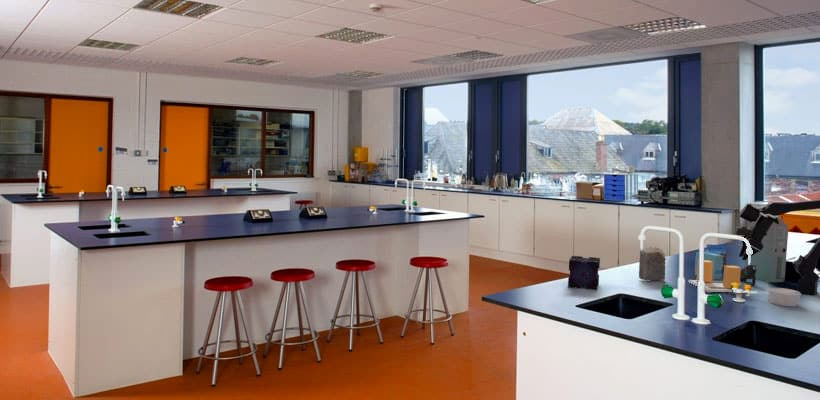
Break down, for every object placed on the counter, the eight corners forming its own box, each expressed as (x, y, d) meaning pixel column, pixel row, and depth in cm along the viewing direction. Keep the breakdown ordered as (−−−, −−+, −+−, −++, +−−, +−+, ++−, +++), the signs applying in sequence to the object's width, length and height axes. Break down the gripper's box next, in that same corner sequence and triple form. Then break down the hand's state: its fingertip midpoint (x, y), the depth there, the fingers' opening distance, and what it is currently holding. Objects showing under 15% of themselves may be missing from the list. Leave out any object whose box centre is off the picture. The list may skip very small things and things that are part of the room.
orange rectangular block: (734, 286, 269) (735, 265, 268) (739, 288, 265) (740, 267, 264) (722, 286, 269) (724, 265, 268) (727, 288, 265) (729, 267, 264)
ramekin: (796, 309, 239) (797, 295, 238) (764, 303, 246) (765, 290, 246) (802, 304, 247) (803, 291, 247) (770, 299, 255) (771, 286, 254)
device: (784, 282, 289) (789, 218, 286) (771, 282, 287) (776, 218, 284) (756, 274, 305) (760, 214, 302) (743, 275, 303) (747, 214, 300)
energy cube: (567, 287, 267) (569, 259, 266) (570, 282, 278) (572, 255, 277) (596, 290, 263) (598, 262, 262) (598, 284, 274) (600, 257, 273)
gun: (744, 292, 290) (741, 271, 294) (760, 283, 275) (756, 261, 279) (738, 292, 290) (735, 271, 294) (753, 283, 276) (750, 261, 279)
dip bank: (725, 283, 282) (725, 280, 282) (748, 293, 263) (748, 290, 263) (688, 282, 282) (688, 279, 282) (708, 292, 263) (708, 289, 263)
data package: (721, 280, 289) (723, 255, 288) (714, 281, 287) (715, 255, 286) (701, 275, 300) (702, 251, 299) (694, 275, 298) (695, 251, 297)
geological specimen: (646, 282, 281) (647, 249, 280) (637, 279, 287) (638, 247, 285) (665, 281, 284) (667, 248, 283) (656, 278, 290) (657, 246, 289)
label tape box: (707, 269, 317) (708, 245, 316) (704, 267, 321) (706, 244, 320) (725, 270, 315) (727, 246, 314) (723, 268, 319) (724, 244, 318)
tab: (707, 280, 280) (708, 260, 280) (711, 282, 277) (713, 262, 276) (696, 279, 281) (697, 260, 280) (700, 281, 277) (701, 261, 276)
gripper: (740, 216, 282) (721, 246, 286) (746, 221, 264) (726, 252, 268) (764, 229, 279) (745, 258, 282) (772, 234, 261) (751, 265, 265)
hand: (741, 258), depth 275 cm, fingers open, 9 cm apart
